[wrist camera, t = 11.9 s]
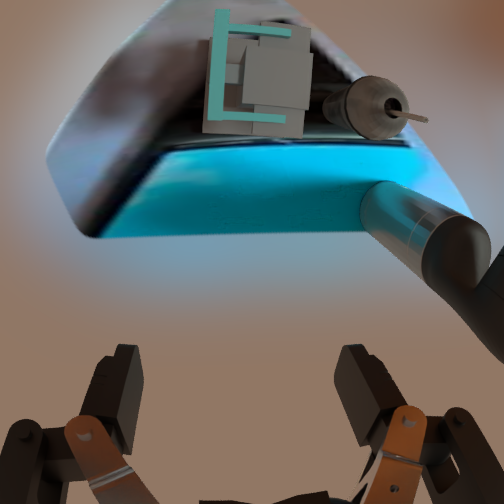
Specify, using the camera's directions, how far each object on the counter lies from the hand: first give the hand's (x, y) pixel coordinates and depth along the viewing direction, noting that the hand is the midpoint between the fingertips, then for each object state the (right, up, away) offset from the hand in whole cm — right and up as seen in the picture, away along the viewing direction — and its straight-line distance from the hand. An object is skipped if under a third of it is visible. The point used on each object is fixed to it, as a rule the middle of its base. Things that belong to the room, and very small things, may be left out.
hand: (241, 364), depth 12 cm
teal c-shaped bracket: (0, +22, +16) cm, 26 cm away
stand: (-1, +26, +26) cm, 37 cm away
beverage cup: (+12, +24, +29) cm, 39 cm away
